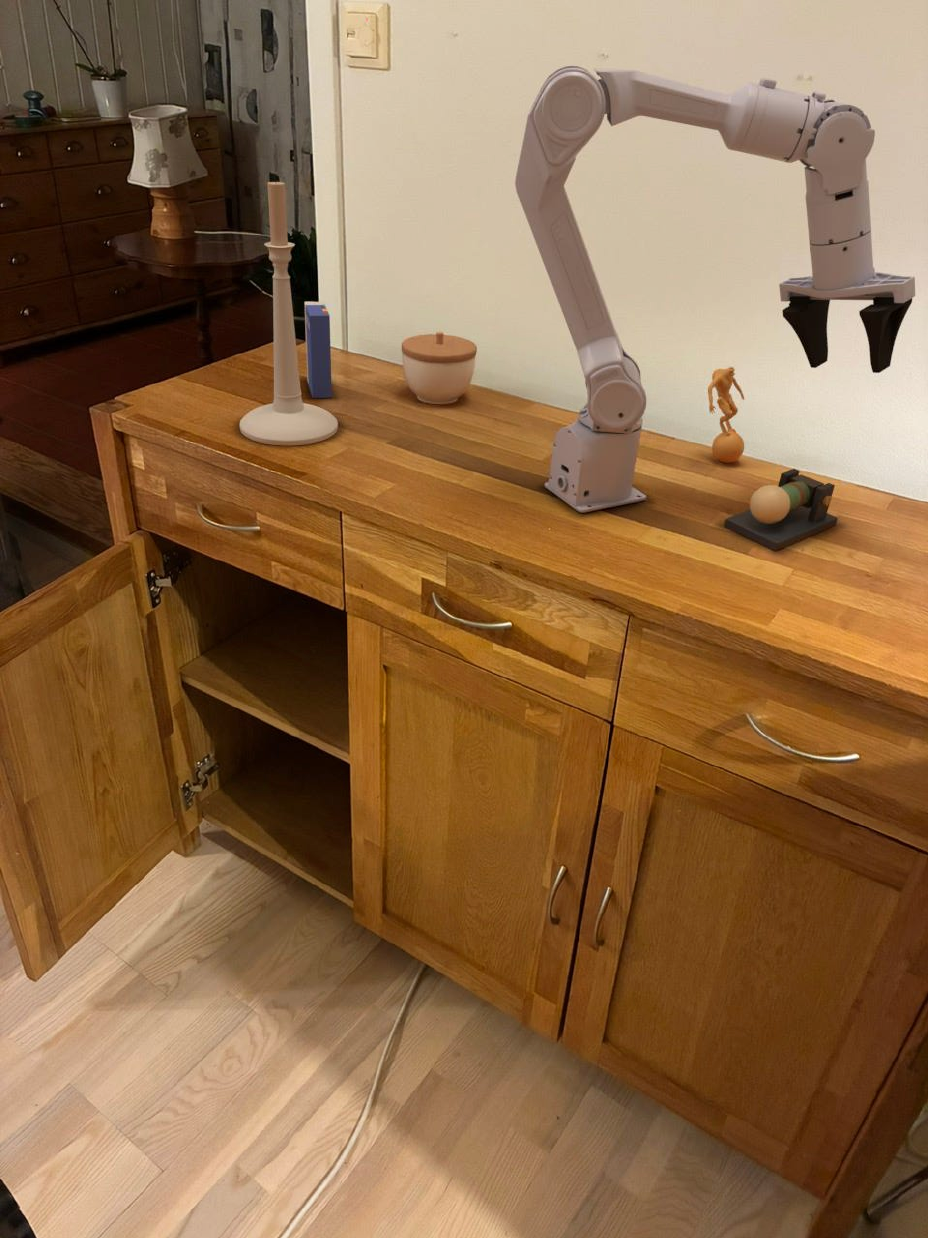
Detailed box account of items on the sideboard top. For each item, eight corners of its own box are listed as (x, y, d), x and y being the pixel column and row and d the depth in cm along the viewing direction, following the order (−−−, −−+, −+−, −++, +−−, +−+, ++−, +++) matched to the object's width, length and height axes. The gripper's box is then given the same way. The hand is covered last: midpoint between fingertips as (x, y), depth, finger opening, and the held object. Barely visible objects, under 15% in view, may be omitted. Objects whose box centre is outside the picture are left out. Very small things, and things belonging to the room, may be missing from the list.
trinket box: (473, 411, 130) (477, 345, 125) (398, 407, 130) (399, 341, 125) (474, 387, 139) (477, 324, 134) (403, 383, 139) (404, 320, 134)
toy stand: (775, 551, 98) (786, 509, 96) (723, 526, 103) (732, 485, 100) (836, 525, 104) (848, 485, 102) (784, 502, 109) (794, 463, 106)
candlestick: (294, 453, 114) (281, 189, 98) (219, 429, 119) (194, 176, 103) (357, 424, 123) (354, 180, 107) (284, 403, 129) (271, 167, 113)
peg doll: (821, 512, 104) (769, 533, 99) (789, 499, 106) (738, 518, 101) (830, 478, 102) (779, 498, 96) (798, 465, 104) (746, 483, 99)
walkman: (332, 397, 132) (329, 312, 125) (312, 398, 131) (309, 312, 125) (325, 380, 138) (323, 298, 132) (307, 380, 138) (303, 298, 131)
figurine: (722, 474, 115) (743, 380, 109) (681, 460, 119) (698, 368, 112) (753, 457, 121) (775, 367, 114) (713, 444, 124) (731, 356, 118)
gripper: (932, 218, 87) (935, 356, 94) (804, 226, 99) (815, 348, 105) (887, 243, 85) (893, 383, 91) (761, 248, 96) (775, 372, 103)
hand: (849, 366), depth 98 cm, fingers open, 7 cm apart
